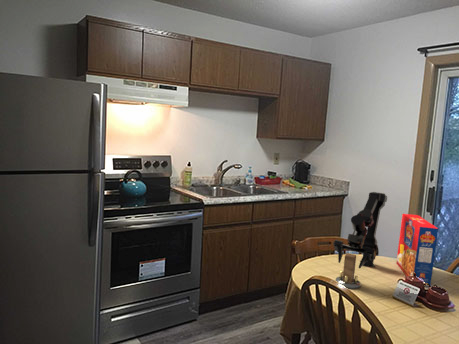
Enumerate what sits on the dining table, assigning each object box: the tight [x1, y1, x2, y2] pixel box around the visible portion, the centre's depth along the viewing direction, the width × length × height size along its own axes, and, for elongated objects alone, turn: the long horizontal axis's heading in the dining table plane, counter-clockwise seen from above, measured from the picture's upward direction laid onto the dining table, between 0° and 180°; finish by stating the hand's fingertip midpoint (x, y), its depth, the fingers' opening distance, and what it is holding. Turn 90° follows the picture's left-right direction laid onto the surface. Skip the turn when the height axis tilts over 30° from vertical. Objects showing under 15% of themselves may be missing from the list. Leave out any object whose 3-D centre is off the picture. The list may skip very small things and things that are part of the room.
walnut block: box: [342, 252, 357, 284], centre depth 170 cm, size 4×4×12 cm
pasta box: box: [395, 213, 439, 286], centre depth 187 cm, size 28×8×28 cm, turn 170°
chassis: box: [335, 270, 361, 290], centre depth 171 cm, size 11×11×5 cm
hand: (348, 265), depth 169 cm, fingers open, 9 cm apart
